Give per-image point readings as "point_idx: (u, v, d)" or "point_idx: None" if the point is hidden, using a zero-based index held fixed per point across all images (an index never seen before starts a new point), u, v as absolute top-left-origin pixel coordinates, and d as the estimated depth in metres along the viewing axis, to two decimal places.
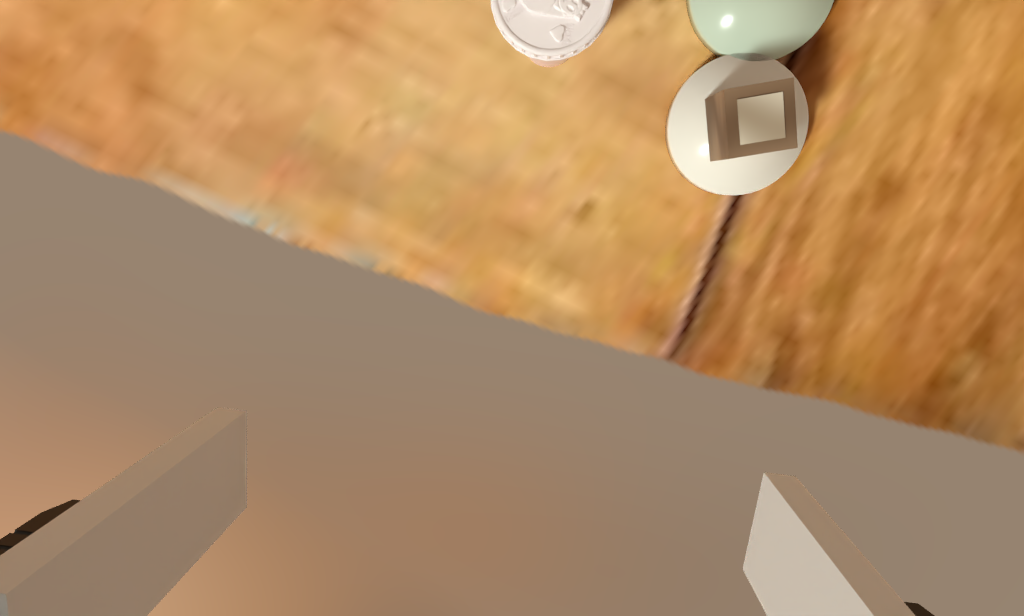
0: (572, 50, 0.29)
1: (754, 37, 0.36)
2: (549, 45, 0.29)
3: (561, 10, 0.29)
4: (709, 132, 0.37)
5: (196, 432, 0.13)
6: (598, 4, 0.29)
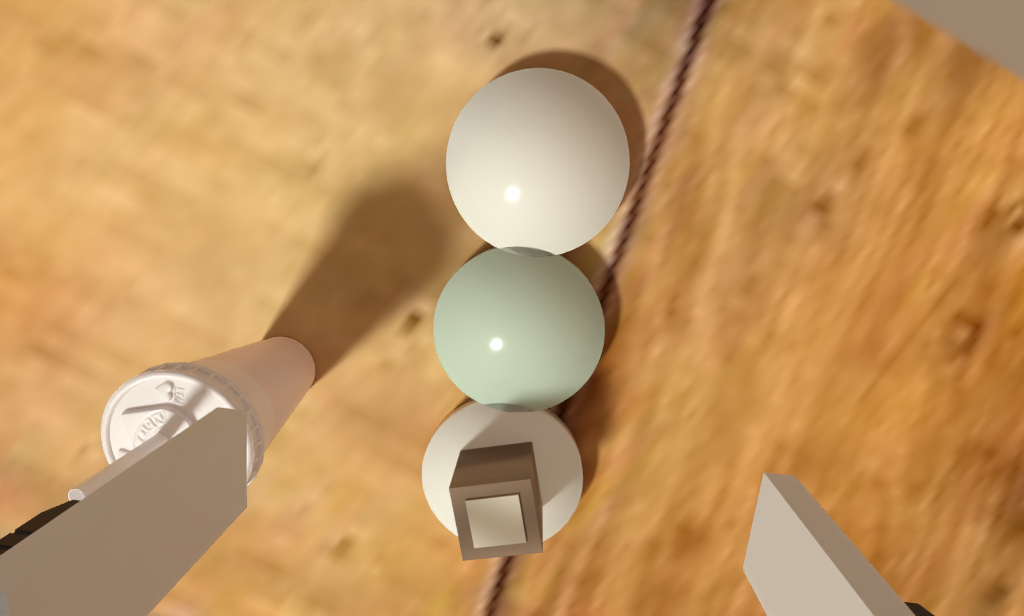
0: None
1: (512, 387, 0.30)
2: None
3: None
4: None
5: (197, 431, 0.13)
6: None
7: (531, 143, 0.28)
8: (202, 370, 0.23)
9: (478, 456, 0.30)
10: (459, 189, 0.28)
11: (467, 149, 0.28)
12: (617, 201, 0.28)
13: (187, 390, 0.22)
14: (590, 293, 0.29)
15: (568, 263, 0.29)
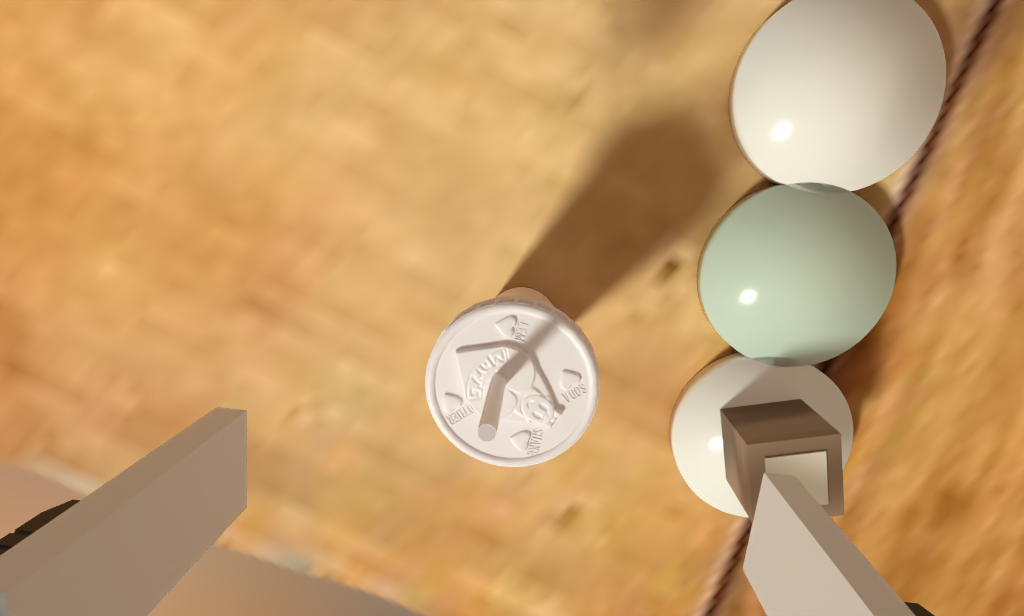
0: (541, 462, 0.21)
1: (785, 339, 0.28)
2: (509, 454, 0.21)
3: (525, 416, 0.20)
4: (726, 452, 0.29)
5: (197, 431, 0.13)
6: (576, 404, 0.21)
7: (836, 66, 0.25)
8: (540, 304, 0.20)
9: (750, 414, 0.28)
10: (749, 118, 0.26)
11: (763, 74, 0.25)
12: (926, 130, 0.25)
13: (531, 325, 0.20)
14: (884, 234, 0.27)
15: (863, 200, 0.26)
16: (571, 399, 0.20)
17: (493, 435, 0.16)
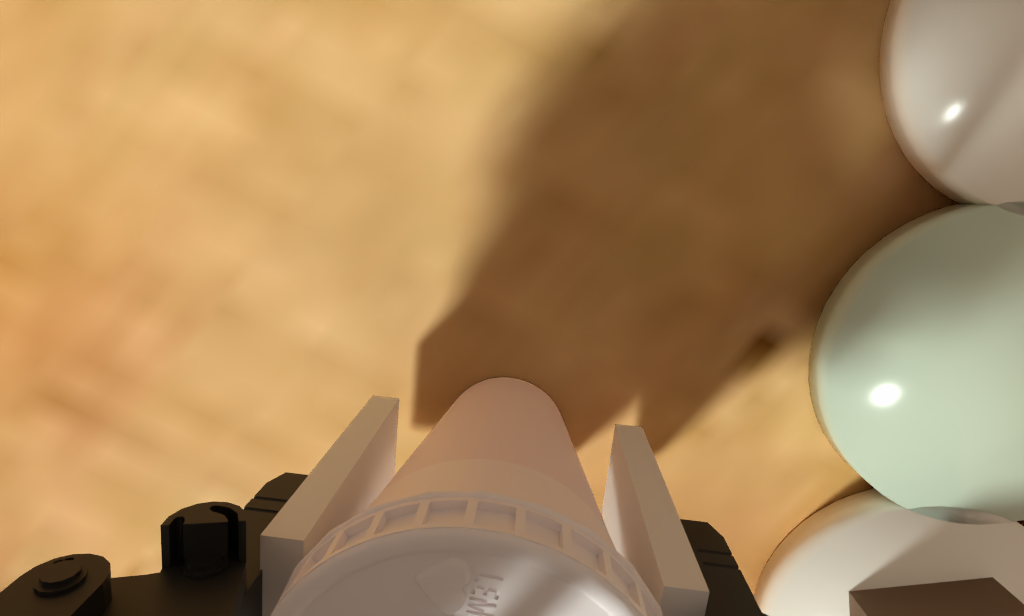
0: None
1: (971, 478, 0.16)
2: None
3: None
4: None
5: (369, 416, 0.15)
6: None
7: None
8: (534, 515, 0.08)
9: (911, 612, 0.16)
10: (931, 80, 0.14)
11: None
12: None
13: (509, 582, 0.08)
14: None
15: None
16: None
17: None
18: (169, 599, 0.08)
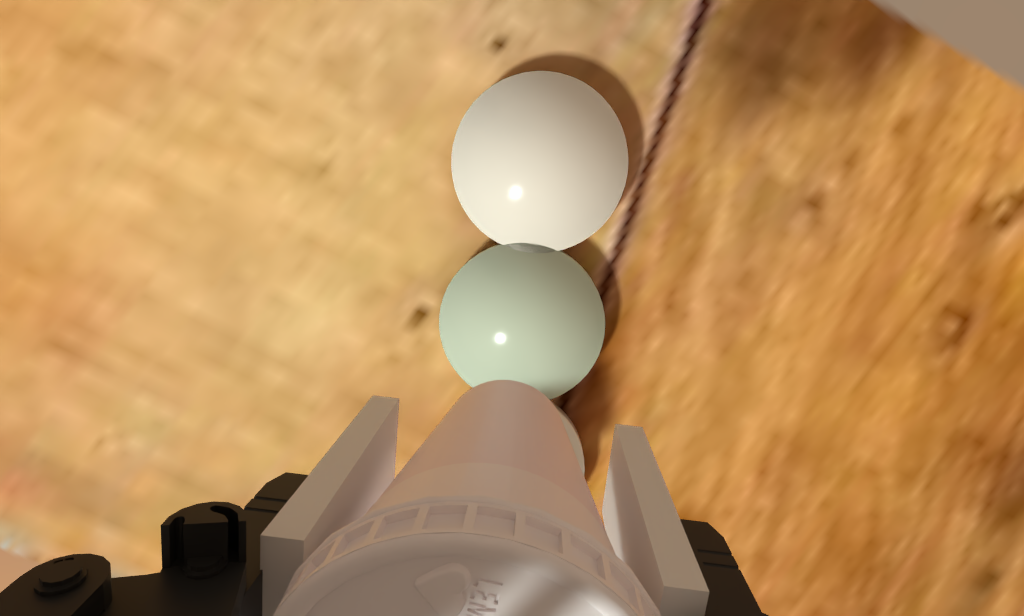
0: None
1: (515, 379, 0.31)
2: None
3: None
4: None
5: (369, 416, 0.15)
6: None
7: (533, 143, 0.29)
8: (534, 520, 0.08)
9: None
10: (464, 187, 0.29)
11: (472, 149, 0.29)
12: (616, 199, 0.29)
13: (509, 587, 0.08)
14: (591, 288, 0.30)
15: (569, 259, 0.30)
16: None
17: None
18: (169, 599, 0.08)
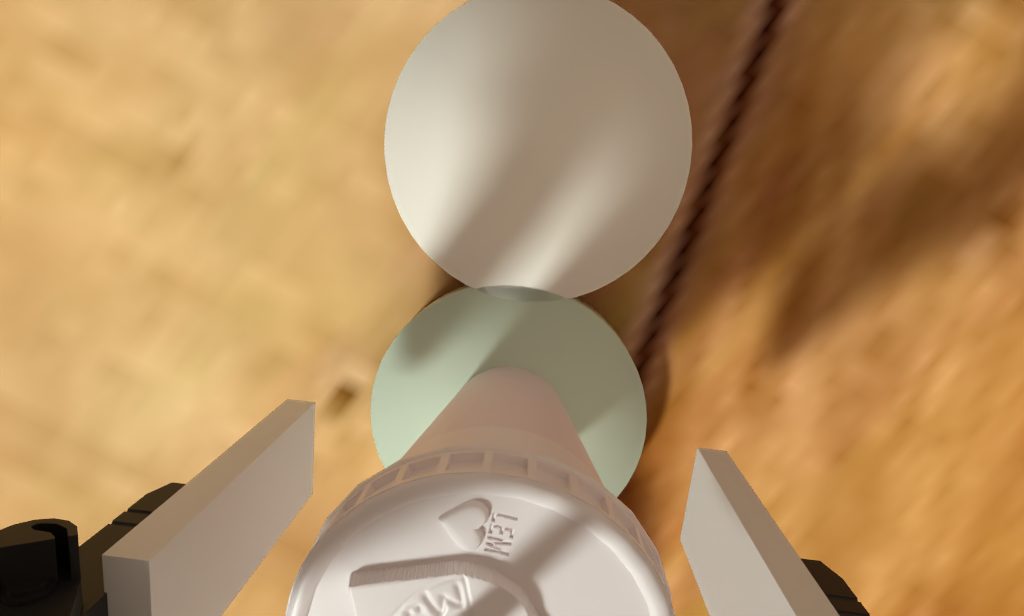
0: None
1: None
2: None
3: None
4: None
5: (275, 421, 0.14)
6: None
7: (526, 114, 0.16)
8: (544, 465, 0.09)
9: None
10: (407, 191, 0.17)
11: (419, 125, 0.17)
12: (670, 211, 0.17)
13: (523, 523, 0.08)
14: (624, 361, 0.18)
15: (588, 312, 0.18)
16: None
17: None
18: None
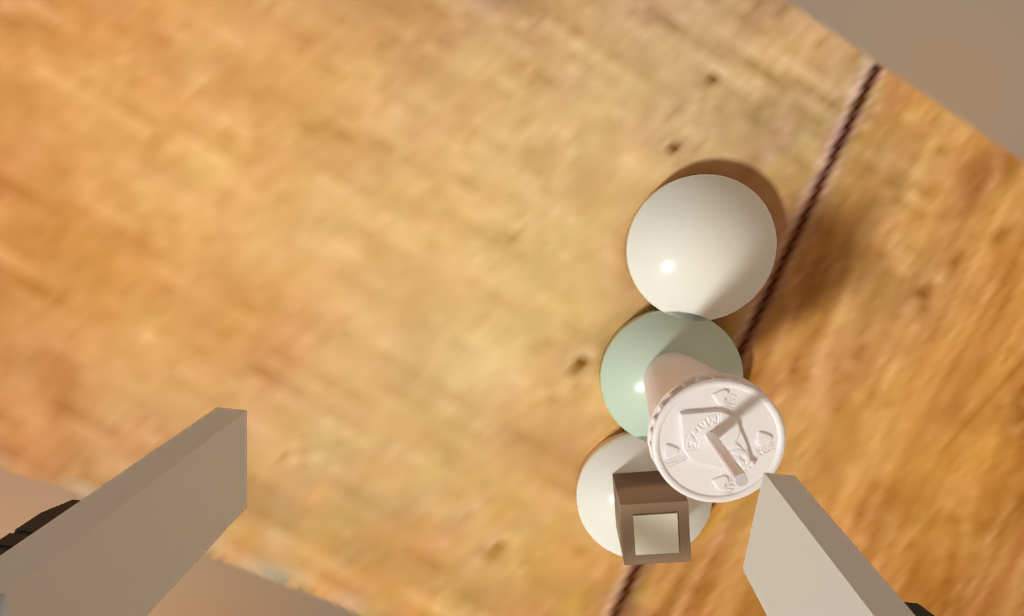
0: (734, 499, 0.27)
1: None
2: (709, 492, 0.27)
3: None
4: (615, 507, 0.38)
5: (197, 431, 0.13)
6: (765, 457, 0.27)
7: (698, 231, 0.35)
8: (743, 380, 0.27)
9: (632, 479, 0.37)
10: (637, 263, 0.35)
11: (647, 233, 0.35)
12: (763, 281, 0.35)
13: (739, 397, 0.26)
14: (734, 352, 0.36)
15: (718, 327, 0.36)
16: (763, 453, 0.27)
17: (746, 482, 0.23)
18: None
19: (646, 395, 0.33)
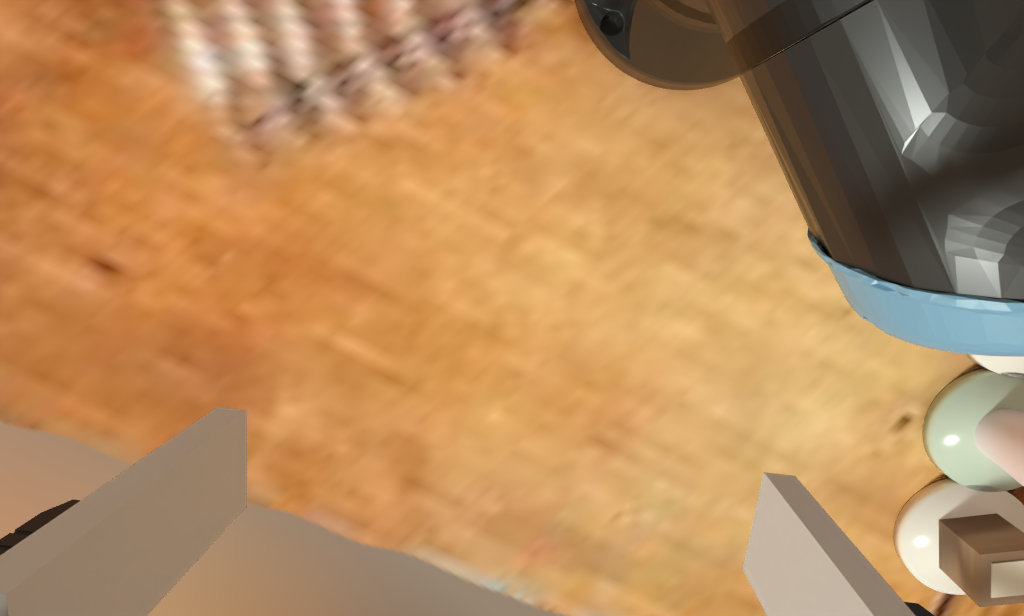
0: None
1: (988, 473, 0.40)
2: None
3: None
4: (943, 550, 0.41)
5: (197, 432, 0.13)
6: None
7: None
8: None
9: (965, 526, 0.40)
10: None
11: None
12: None
13: None
14: None
15: None
16: None
17: None
18: None
19: (1005, 455, 0.36)
